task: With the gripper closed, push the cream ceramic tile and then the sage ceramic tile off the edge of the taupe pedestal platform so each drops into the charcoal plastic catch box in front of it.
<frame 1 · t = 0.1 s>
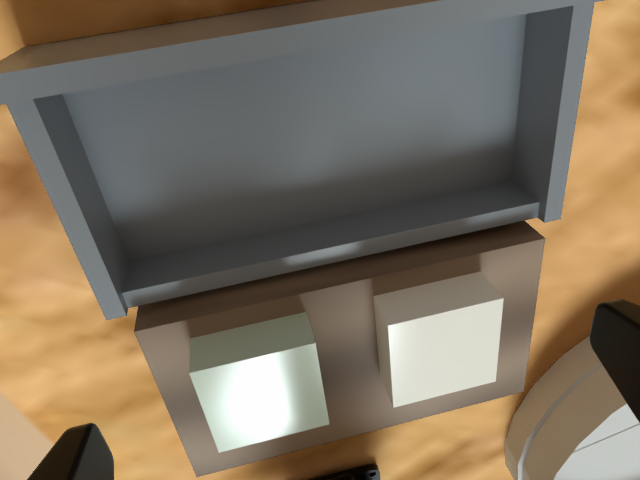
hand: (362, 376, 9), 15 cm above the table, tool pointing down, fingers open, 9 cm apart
taupe pedestal platform: (339, 313, 27), on the table
cream tile: (428, 325, 23), point 4 cm above the table, touching taupe pedestal platform
dish: (633, 402, 38), on the table
catch box: (314, 129, 21), on the table
sage tile: (259, 366, 22), point 4 cm above the table, touching taupe pedestal platform
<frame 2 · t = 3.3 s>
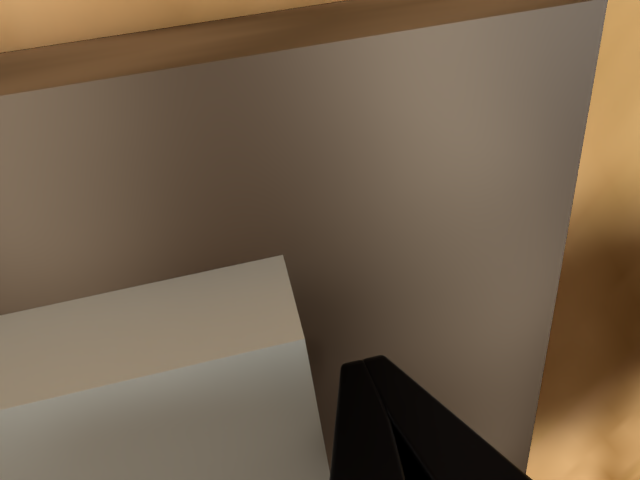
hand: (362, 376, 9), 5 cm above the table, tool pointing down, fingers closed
taupe pedestal platform: (297, 352, 14), on the table
cream tile: (169, 398, 9), point 4 cm above the table, touching gripper
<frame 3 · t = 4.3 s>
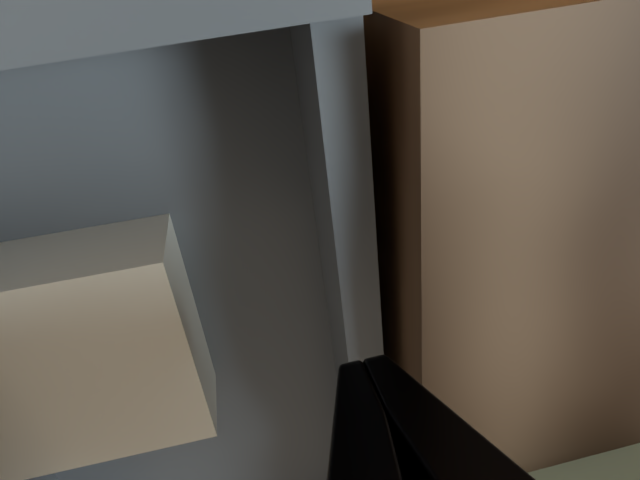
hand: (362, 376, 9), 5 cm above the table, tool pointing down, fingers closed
taupe pedestal platform: (529, 299, 15), on the table
cream tile: (70, 385, 10), point 3 cm above the table, tilted 180°, touching catch box
catch box: (185, 376, 14), on the table
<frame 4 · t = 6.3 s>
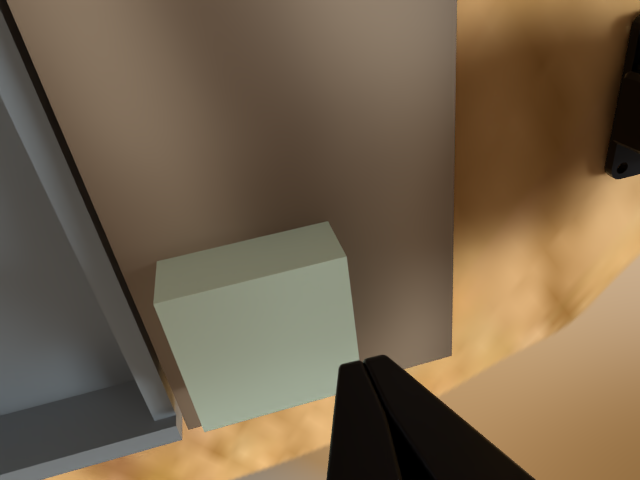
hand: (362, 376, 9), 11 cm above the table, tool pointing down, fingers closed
taupe pedestal platform: (263, 122, 17), on the table
sage tile: (261, 307, 16), point 4 cm above the table, touching taupe pedestal platform
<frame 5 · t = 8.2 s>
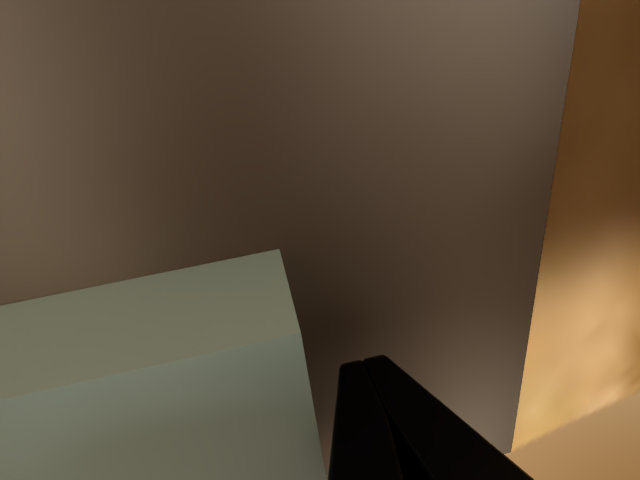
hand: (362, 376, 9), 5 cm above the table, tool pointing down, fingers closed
taupe pedestal platform: (220, 67, 10), on the table
sage tile: (162, 394, 9), point 4 cm above the table, touching gripper
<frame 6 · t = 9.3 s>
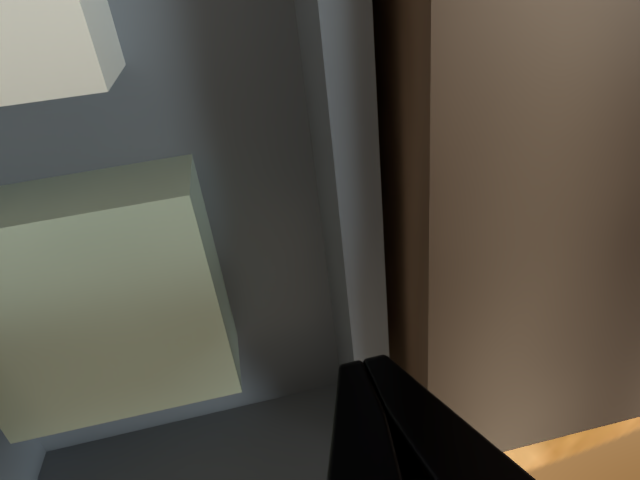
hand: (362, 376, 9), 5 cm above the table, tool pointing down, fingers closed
taupe pedestal platform: (576, 10, 11), on the table
catch box: (88, 86, 10), on the table
sage tile: (90, 332, 10), point 3 cm above the table, tilted 180°, touching catch box
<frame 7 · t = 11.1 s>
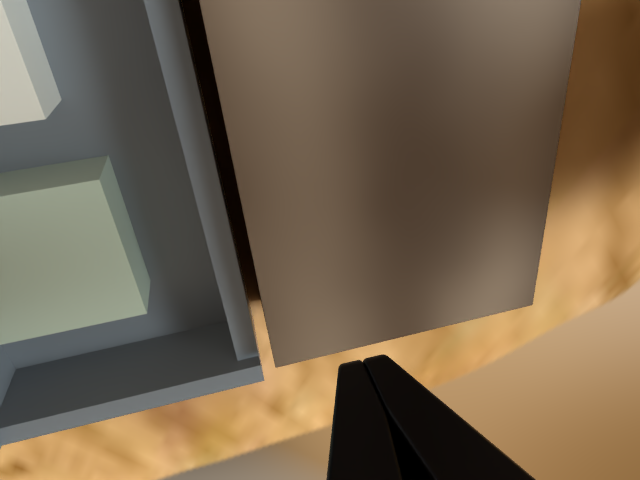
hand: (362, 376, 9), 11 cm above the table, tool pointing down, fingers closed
taupe pedestal platform: (362, 61, 17), on the table
catch box: (39, 112, 15), on the table
sage tile: (41, 268, 15), point 3 cm above the table, tilted 180°, touching catch box
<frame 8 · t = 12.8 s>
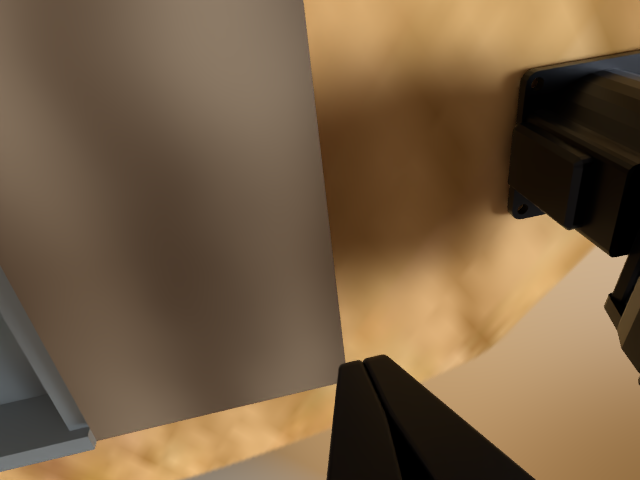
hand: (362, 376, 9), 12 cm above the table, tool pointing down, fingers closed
taupe pedestal platform: (170, 163, 18), on the table
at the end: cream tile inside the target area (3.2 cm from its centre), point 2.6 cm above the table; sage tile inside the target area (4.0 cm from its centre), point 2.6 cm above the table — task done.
